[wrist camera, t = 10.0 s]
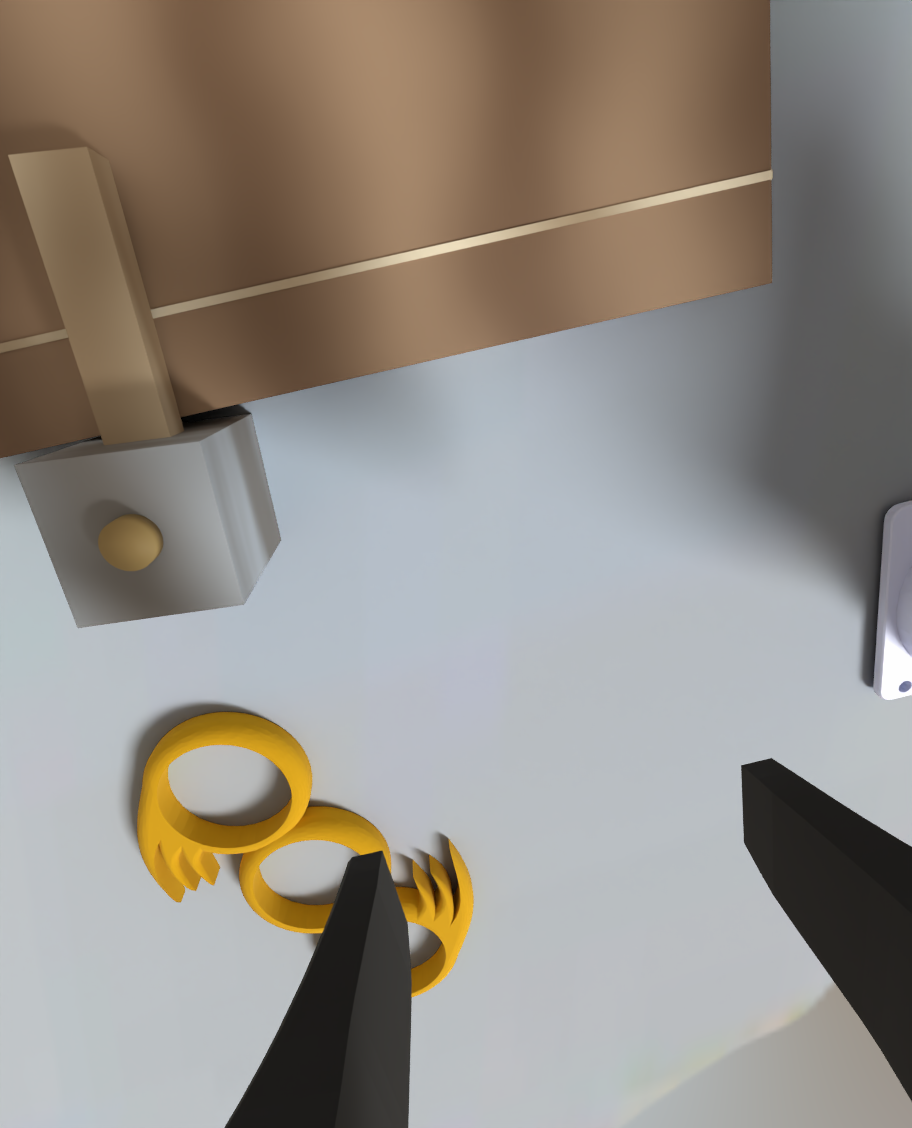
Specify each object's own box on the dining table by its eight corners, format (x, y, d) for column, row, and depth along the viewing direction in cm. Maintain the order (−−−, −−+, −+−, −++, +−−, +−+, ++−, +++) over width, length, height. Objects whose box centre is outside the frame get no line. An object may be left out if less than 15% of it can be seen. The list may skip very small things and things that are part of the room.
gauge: (196, 180, 15) (98, 103, 10) (281, 539, 19) (239, 613, 14) (40, 197, 15) (-139, 127, 10) (156, 556, 19) (67, 637, 14)
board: (718, -170, 14) (769, -251, 12) (732, 288, 18) (773, 282, 16) (-290, 50, 14) (-402, 3, 12) (-62, 468, 17) (-118, 485, 15)
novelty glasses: (336, 1011, 28) (519, 915, 27) (333, 1047, 26) (526, 948, 25) (77, 780, 22) (295, 647, 21) (54, 810, 21) (288, 669, 20)
